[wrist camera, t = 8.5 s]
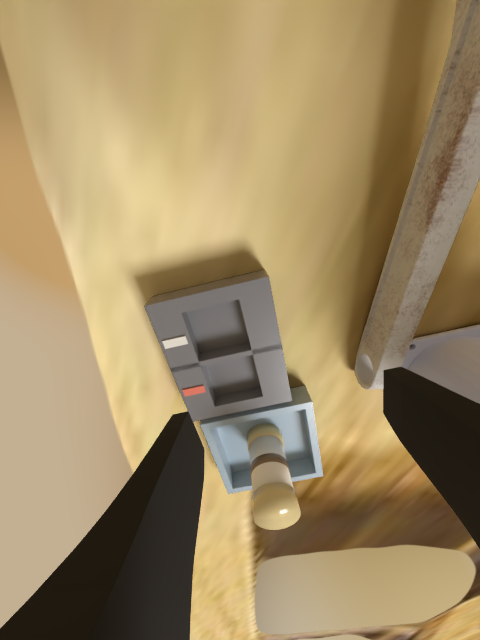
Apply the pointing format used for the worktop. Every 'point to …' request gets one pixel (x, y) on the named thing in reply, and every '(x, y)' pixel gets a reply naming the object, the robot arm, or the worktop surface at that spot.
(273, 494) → the cylinder
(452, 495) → the robot arm
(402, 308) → the wrench
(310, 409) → the parts tray
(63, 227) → the worktop surface
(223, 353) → the fuse block
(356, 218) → the worktop surface
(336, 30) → the worktop surface
